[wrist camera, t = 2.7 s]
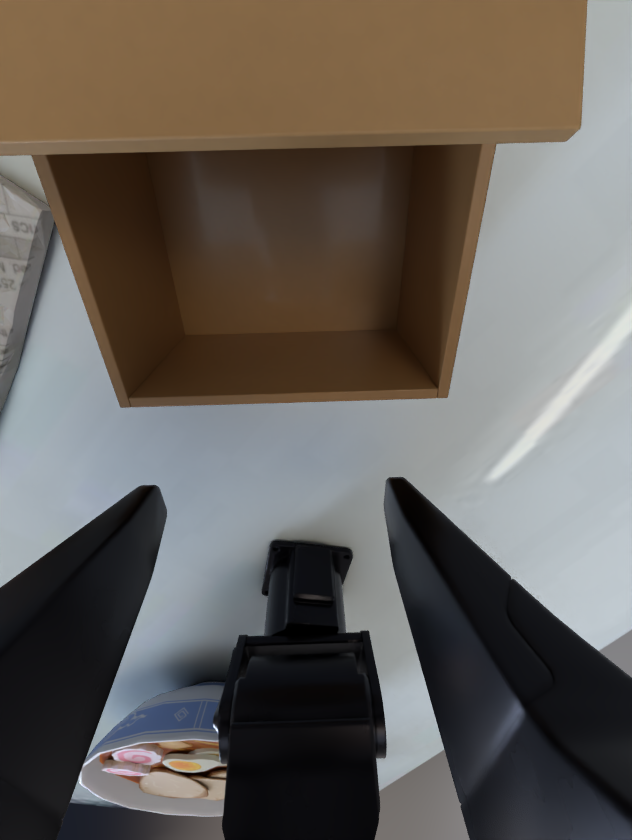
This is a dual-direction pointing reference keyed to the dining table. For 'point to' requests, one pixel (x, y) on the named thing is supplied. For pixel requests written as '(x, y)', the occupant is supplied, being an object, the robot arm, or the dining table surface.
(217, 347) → the carton
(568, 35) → the flap
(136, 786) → the ramen bowl
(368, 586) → the dining table surface
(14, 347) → the packaged product
